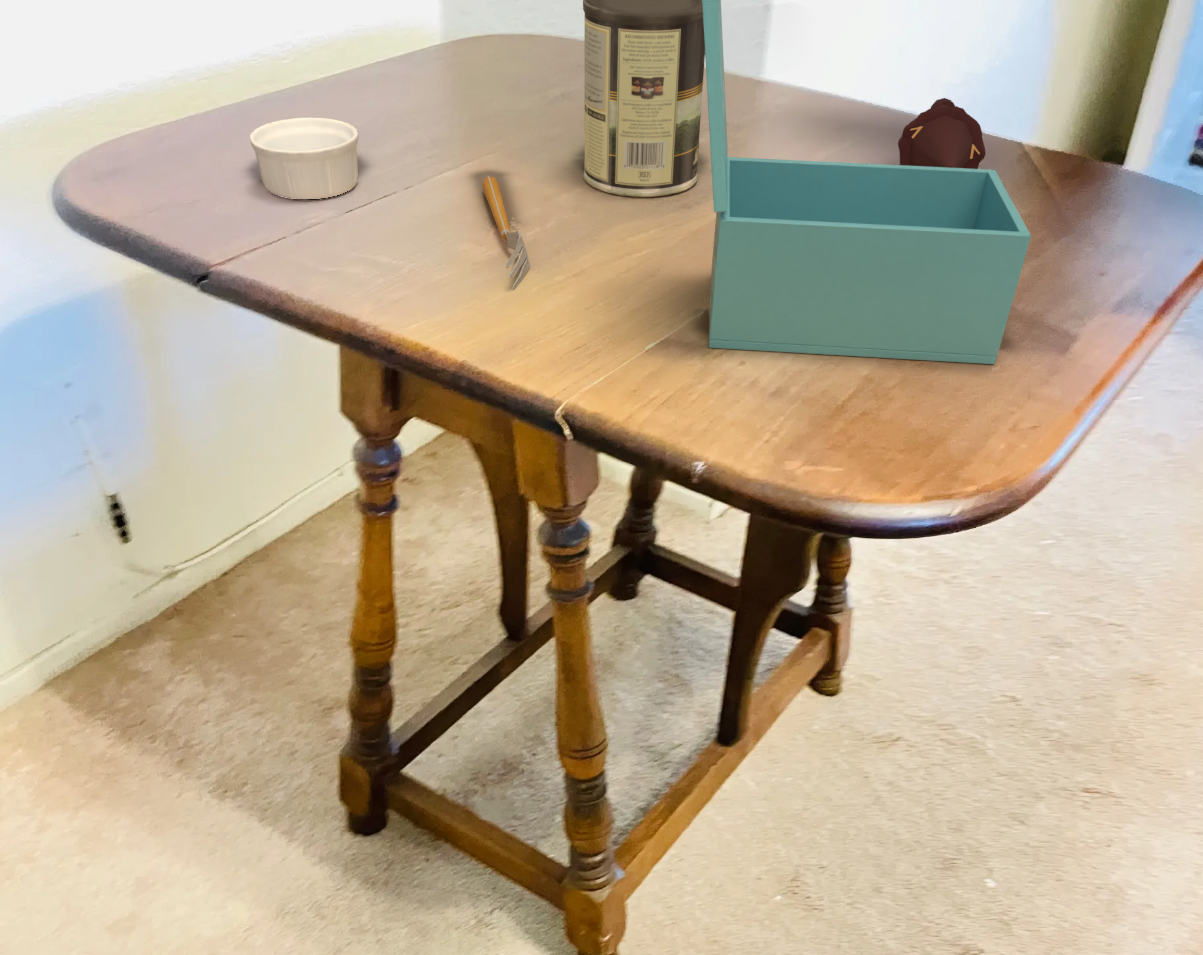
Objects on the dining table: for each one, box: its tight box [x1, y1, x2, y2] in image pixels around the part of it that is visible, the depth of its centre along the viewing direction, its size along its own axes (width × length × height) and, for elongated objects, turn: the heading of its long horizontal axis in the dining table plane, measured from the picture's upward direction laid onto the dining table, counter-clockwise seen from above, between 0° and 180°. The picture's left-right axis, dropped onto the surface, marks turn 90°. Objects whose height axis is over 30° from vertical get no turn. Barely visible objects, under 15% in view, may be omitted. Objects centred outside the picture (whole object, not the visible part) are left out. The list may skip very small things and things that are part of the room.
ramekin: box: [249, 117, 359, 200], centre depth 92 cm, size 9×9×4 cm
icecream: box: [897, 97, 986, 169], centre depth 93 cm, size 7×7×15 cm
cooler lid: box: [702, 0, 729, 213], centre depth 64 cm, size 19×12×1 cm
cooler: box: [708, 156, 1032, 365], centre depth 72 cm, size 19×12×9 cm, turn 85°
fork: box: [482, 175, 531, 290], centre depth 85 cm, size 2×2×20 cm
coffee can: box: [582, 0, 706, 198], centre depth 91 cm, size 10×10×14 cm
